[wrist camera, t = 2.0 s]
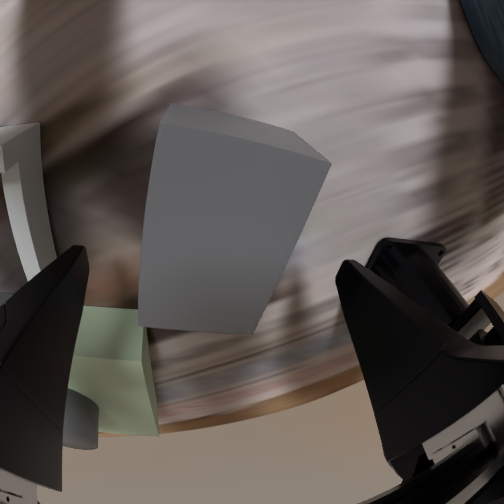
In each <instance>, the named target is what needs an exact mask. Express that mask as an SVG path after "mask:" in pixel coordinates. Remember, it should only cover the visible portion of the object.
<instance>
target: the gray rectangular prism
mask: <svg viewBox="0 0 504 504" xmlns="http://www.w3.org/2000/svg"><path fill="white" fill-rule="evenodd" d="M331 164H332V163H331V162H329V161H328V160H327V159H326V158H325V157H324V156H322V155H321V154H320V153H319V152H318V151H316V150H315V149H314V148H313V147H312V146H310V145H309V144H308V143H307V142H305V141H304V140H303V139H302V138H300V137H299V136H298V135H297V134H295V133H294V132H293V131H290V130H287V129H284V128H280V127H277V126H273V125H270V124H266V123H262V122H259V121H255V120H251V119H247V118H243V117H239V116H235V115H230V114H226V113H222V112H217V111H212V110H207V109H202V108H197V107H192V106H187V105H181V104H175V103H170V105H169V107H168V109H167V111H166V112H165V114H164V116H163V118H162V120H161V121H160V124H159V129H158V134H157V139H156V144H155V150H154V155H153V161H152V167H151V173H150V179H149V186H148V193H147V200H146V208H145V217H144V226H143V235H142V246H141V259H140V274H139V294H138V326H142V327H151V328H161V329H172V330H184V331H198V332H213V333H233V334H253V332H254V330H255V328H256V326H257V324H258V322H259V320H260V318H261V316H262V314H263V312H264V310H265V308H266V306H267V304H268V302H269V300H270V298H271V296H272V294H273V292H274V290H275V287H276V285H277V283H278V281H279V279H280V277H281V275H282V273H283V271H284V269H285V266H286V264H287V262H288V260H289V258H290V256H291V254H292V251H293V249H294V247H295V245H296V243H297V241H298V238H299V236H300V234H301V232H302V230H303V227H304V225H305V223H306V221H307V219H308V216H309V214H310V212H311V210H312V207H313V205H314V203H315V201H316V198H317V196H318V194H319V191H320V189H321V187H322V185H323V182H324V180H325V178H326V175H327V173H328V171H329V168H330V166H331Z"/></svg>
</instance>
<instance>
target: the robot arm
mask: <svg viewBox="0 0 504 504" xmlns="http://www.w3.org/2000/svg"><path fill="white" fill-rule="evenodd" d="M445 252H446V248H445V247H444V246H443V245H442V244H438V243H431V242H423V241H415V240H406V239H398V238H389V237H387V238H384V239H382V240H381V241H380V242H379V244H378V246H377V248H376V250H375V252H374V254H373V256H372V258H371V260H370V262H369V264H368V266H367V267H364V266H363V265H361V264H360V263H358V262H357V261H355V260H347V259H346V260H344V261H343V262H342V264H341V267H340V269H339V271H338V273H337V275H336V279H335V282H336V286H337V290H338V294H339V298H340V302H341V306H342V311H343V314H344V318H345V321H346V324H347V327H348V330H349V333H350V336H351V339H352V342H353V345H354V348H355V351H356V354H357V357H358V361H359V364H360V367H361V370H362V373H363V377H364V380H365V383H366V387H367V390H368V393H369V397H370V400H371V404H372V407H373V411H374V415H375V419H376V423H377V426H378V430H379V434H380V438H381V442H382V447H383V452H384V456H385V458H386V461H387V462H388V463H389V465H390V466H391V467H392V468H393V470H394V471H395V472H396V474H398V476H400V477H401V478H402V479H403V481H402V483H401V484H399V485H398V486H396V487H394V488H392V489H390V490H388V491H386V492H383V493H381V494H379V495H377V496H375V497H373V498H370V499H368V500H366V501H363V502H361V503H358V504H504V312H503V310H502V309H501V308H500V306H499V305H498V304H497V303H496V302H495V301H494V300H493V299H492V298H490V297H489V296H488V295H487V294H485V293H484V292H483V291H482V290H481V291H480V292H479V293H478V294H477V295H476V296H475V300H474V301H473V302H472V303H471V304H470V305H469V304H468V303H467V302H466V300H465V299H464V298H463V297H462V295H461V294H460V293H459V291H458V290H457V289H456V288H455V286H454V285H453V284H452V283H451V281H450V280H449V279H448V278H447V276H446V275H445V274H444V273H443V272H442V270H441V269H440V268H439V267H438V266H437V265H438V264H439V262H440V260H441V259H442V257H443V255H444V254H445ZM88 275H89V263H88V257H87V251H86V248H85V246H82V245H73V246H72V247H70V248H69V249H68V250H66V251H65V252H64V253H63V254H61V255H60V256H59V257H57V258H56V259H55V260H54V261H52V262H51V263H50V264H49V265H47V266H46V267H45V268H44V269H42V270H41V271H40V272H39V273H38V274H36V275H35V276H34V277H33V278H32V279H31V280H29V281H28V282H27V283H26V284H25V285H24V286H22V287H21V288H20V289H19V290H18V291H17V292H16V293H15V294H13V295H12V296H11V297H10V298H9V299H8V300H7V301H6V302H5V304H3V305H1V306H0V504H40V503H39V502H38V501H37V485H39V486H42V487H46V488H49V489H52V490H56V491H60V492H62V445H63V427H64V416H65V406H66V398H67V390H68V383H69V377H70V371H71V365H72V359H73V354H74V349H75V344H76V339H77V335H78V330H79V326H80V322H81V318H82V313H83V307H84V300H85V293H86V287H87V281H88ZM490 323H492V325H493V326H494V327H493V328H492V329H491V330H490V331H489V332H488V333H487V332H485V331H484V329H485V328H486V327H487V326H488V325H489V324H490Z"/></svg>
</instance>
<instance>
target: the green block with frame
mask: <svg viewBox="0 0 504 504" xmlns="http://www.w3.org/2000/svg"><path fill="white" fill-rule="evenodd" d="M0 173H1V177H2V183H3V189H4V195H5V200H6V205H7V210H8V214H9V219H10V223H11V227H12V231H13V235H14V239H15V242H16V246H17V249H18V253H19V256H20V259H21V262H22V265H23V268H24V271H25V274H26V277H27V280H28V281H29V280H31V279H32V278H33V277H34V276H35V275H36V274H38V273H39V272H40V271H41V270H42V269H44V268H45V267H46V266H47V265H49V264H50V263H51V262H52V261H54V260H55V259H56V258H57V256H56V251H55V247H54V242H53V238H52V233H51V228H50V222H49V216H48V210H47V204H46V197H45V189H44V181H43V171H42V159H41V141H40V122H37V123H27V124H19V125H12V126H5V127H0ZM12 295H13V294H8V293H1V292H0V306H1V305H3V304H5V302H6V301H7V300H8V299H9V298H10V297H11V296H12ZM98 432H106V433H115V434H126V435H139V436H159V427H158V404H157V398H156V393H155V387H154V381H153V374H152V367H151V360H150V353H149V345H148V337H147V328H146V327H142V326H138V309H121V308H107V307H95V306H84V307H83V313H82V318H81V322H80V326H79V330H78V335H77V339H76V344H75V349H74V354H73V359H72V365H71V371H70V377H69V383H68V390H67V398H66V406H65V416H64V427H63V445H62V446H66V447H70V448H75V449H83V450H93V449H96V448H98Z"/></svg>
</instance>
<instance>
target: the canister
mask: <svg viewBox="0 0 504 504" xmlns="http://www.w3.org/2000/svg"><path fill="white" fill-rule="evenodd" d="M460 1H461V4H462V7H463V10H464V12H465V15H466V18H467V21H468V23H469V26H470V28H471V30H472V33H473V35H474V37H475V39H476V41H477V44H478V46H479V48H480V50H481V52H482V53H483V55H484V57H485V59H486V60H487V62H488V64H489V65H490V67H491V68H492V70H493V71H494V73H495V74H496V75H497V76H498V77H499V78H500V80H501V81H503V82H504V0H460Z"/></svg>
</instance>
